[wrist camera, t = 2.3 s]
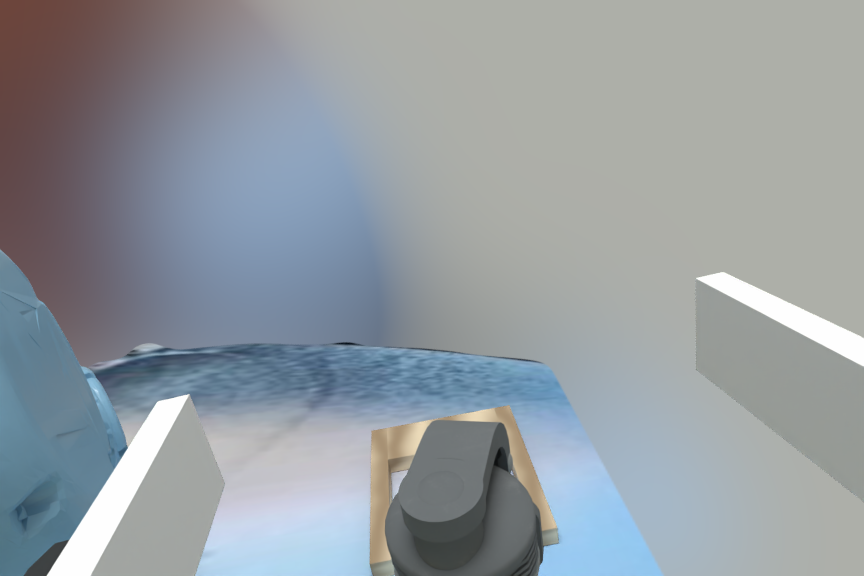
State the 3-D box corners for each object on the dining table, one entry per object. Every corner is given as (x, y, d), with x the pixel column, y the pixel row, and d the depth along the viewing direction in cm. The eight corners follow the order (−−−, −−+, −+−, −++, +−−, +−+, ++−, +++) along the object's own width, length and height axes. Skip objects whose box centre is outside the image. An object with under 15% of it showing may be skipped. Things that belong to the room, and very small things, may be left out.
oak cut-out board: (373, 578, 51) (369, 564, 50) (374, 443, 69) (371, 430, 69) (558, 543, 52) (557, 527, 51) (510, 417, 70) (509, 405, 69)
